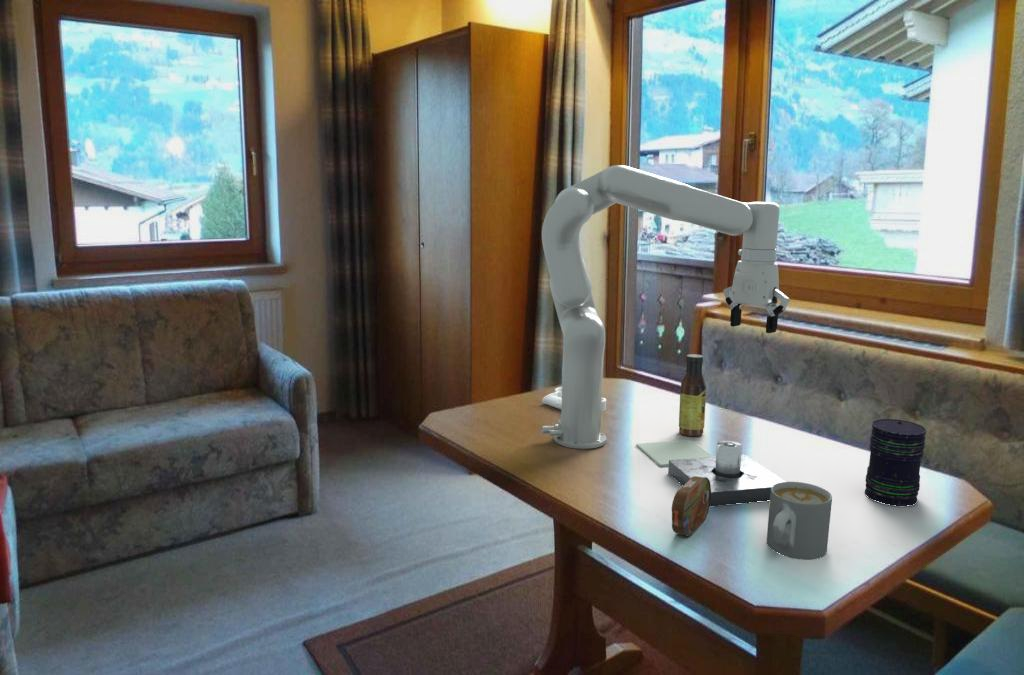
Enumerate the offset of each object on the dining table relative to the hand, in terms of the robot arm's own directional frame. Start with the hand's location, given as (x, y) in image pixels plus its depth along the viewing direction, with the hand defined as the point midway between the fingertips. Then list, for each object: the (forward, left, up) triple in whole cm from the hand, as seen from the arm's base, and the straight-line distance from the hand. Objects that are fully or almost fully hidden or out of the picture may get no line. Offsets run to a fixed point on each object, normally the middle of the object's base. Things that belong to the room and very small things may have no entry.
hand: (752, 329), depth 186 cm
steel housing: (-18, -24, -28) cm, 41 cm away
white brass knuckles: (-30, +38, -29) cm, 56 cm away
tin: (-34, -40, -28) cm, 60 cm away
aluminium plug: (-18, -24, -28) cm, 41 cm away
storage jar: (+12, -36, -28) cm, 47 cm away
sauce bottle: (-10, +9, -28) cm, 31 cm away
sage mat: (-20, -4, -28) cm, 34 cm away
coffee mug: (-21, -52, -28) cm, 63 cm away
